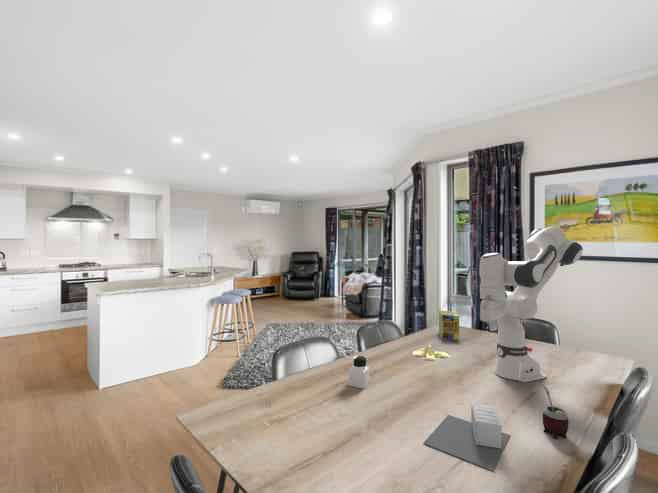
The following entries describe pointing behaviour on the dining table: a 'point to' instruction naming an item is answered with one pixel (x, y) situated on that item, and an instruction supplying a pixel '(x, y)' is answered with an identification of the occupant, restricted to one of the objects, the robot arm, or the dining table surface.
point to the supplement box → (486, 426)
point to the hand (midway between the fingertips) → (493, 330)
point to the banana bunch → (429, 353)
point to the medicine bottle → (359, 372)
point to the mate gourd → (554, 419)
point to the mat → (464, 443)
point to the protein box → (449, 325)
